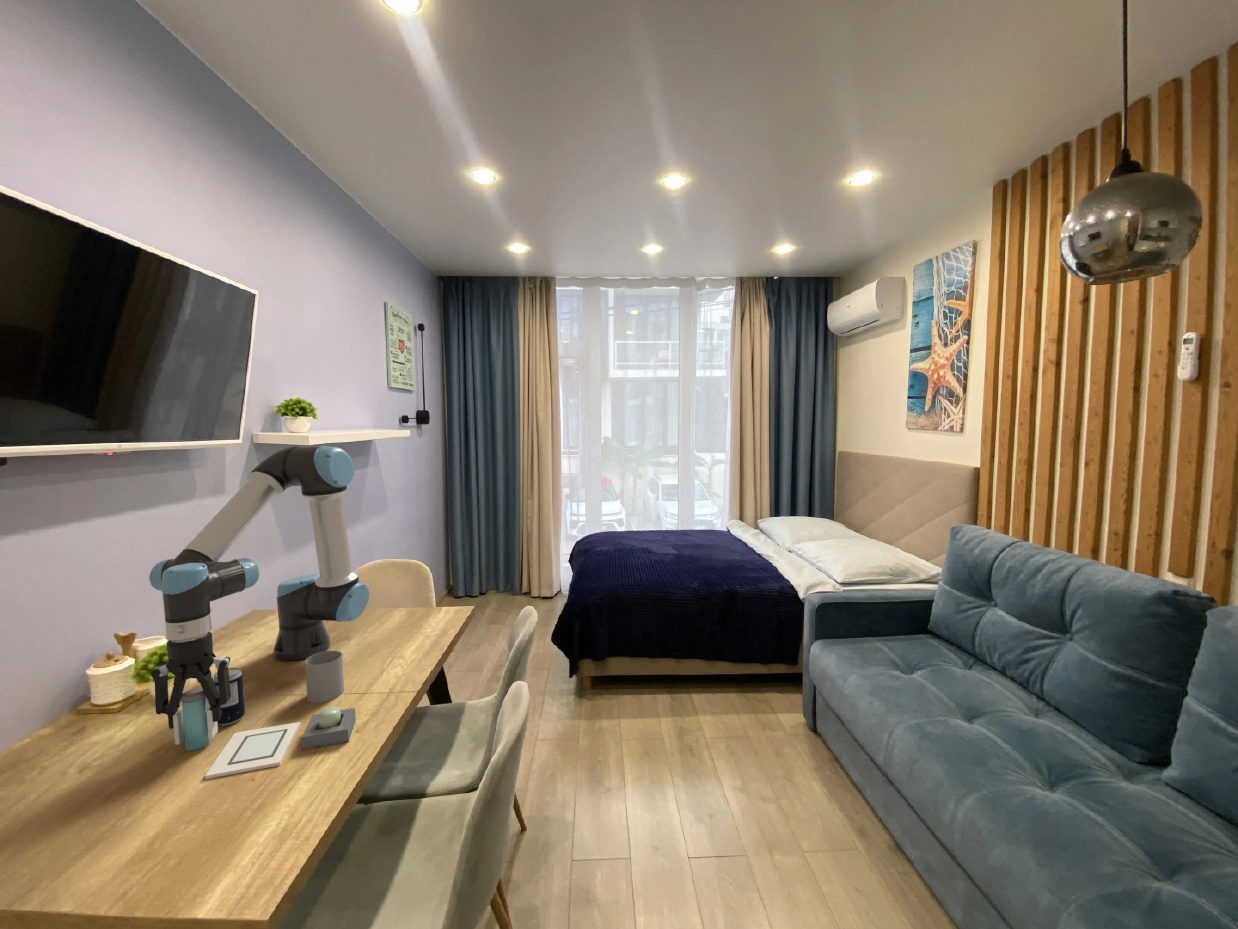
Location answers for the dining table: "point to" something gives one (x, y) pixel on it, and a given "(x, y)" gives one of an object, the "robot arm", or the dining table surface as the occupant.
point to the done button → (329, 717)
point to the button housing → (328, 731)
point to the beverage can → (232, 698)
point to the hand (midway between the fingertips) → (196, 737)
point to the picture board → (254, 750)
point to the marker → (195, 719)
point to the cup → (324, 676)
